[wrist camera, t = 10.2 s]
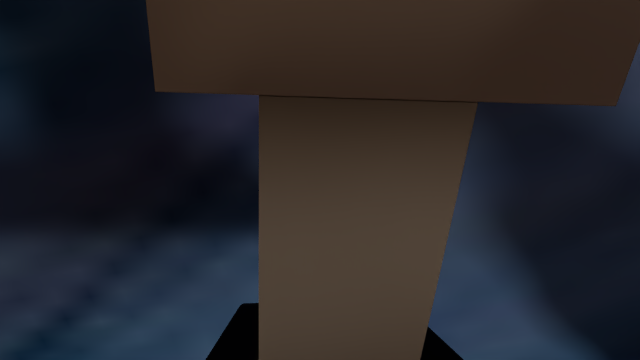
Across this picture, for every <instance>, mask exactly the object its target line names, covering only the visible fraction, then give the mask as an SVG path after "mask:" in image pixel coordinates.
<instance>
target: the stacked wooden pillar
mask: <svg viewBox="0 0 640 360" xmlns="http://www.w3.org/2000/svg"><path fill="white" fill-rule="evenodd" d="M146 7H147V17H148V26H149V36H150V46H151V55H152V65H153V75H154V84H155V92H180V93H212V94H244V95H259V360H420V358H421V354H422V349H423V345H424V341H425V336H426V332H427V327H428V323H429V318H430V314H431V309H432V305H433V301H434V296H435V292H436V287H437V283H438V278H439V274H440V269H441V265H442V260H443V256H444V252H445V247H446V243H447V238H448V234H449V229H450V225H451V220H452V216H453V212H454V207H455V203H456V198H457V194H458V189H459V185H460V180H461V176H462V172H463V167H464V163H465V158H466V154H467V149H468V145H469V140H470V136H471V132H472V127H473V123H474V118H475V114H476V109H477V105H478V103H477V102H500V103H532V104H564V105H596V106H616V104H617V102H618V99H619V96H620V93H621V91H622V88H623V85H624V83H625V80H626V77H627V74H628V72H629V69H630V66H631V63H632V61H633V58H634V55H635V53H636V50H637V47H638V44H639V42H640V0H146Z"/></svg>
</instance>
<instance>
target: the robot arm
mask: <svg viewBox="0 0 640 360" xmlns="http://www.w3.org/2000/svg"><path fill="white" fill-rule="evenodd" d="M206 360H259V303H244V304H242V305H240V307H239V308H238V310H237V311H236V313H235V314H234V316H233V317H232V319H231V321H230V322H229V324H228V325H227V327H226V328H225V330H224V332H223V333H222V335H221V336H220V338H219V339H218V341H217V343H216V344H215V346H214V347H213V349H212V350H211V352H210V354H209V355H208V357H207V358H206ZM420 360H463V359H462V358H461V357H460V356H459V355H458V354H457V353H456V352H455V351H454V350H453V349H452V348H450V347H449V346H448V345H447V344H446V343H445V342H444V341H443V340H442V339H441V338H440V337H439V336H438V335H437V334H435V333H434V332H433V331H432V330H431V329H430V328H429V327H427V332H426V336H425V341H424V345H423V349H422V354H421V358H420Z"/></svg>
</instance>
